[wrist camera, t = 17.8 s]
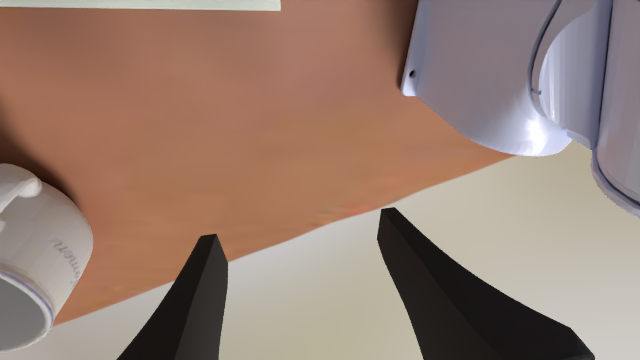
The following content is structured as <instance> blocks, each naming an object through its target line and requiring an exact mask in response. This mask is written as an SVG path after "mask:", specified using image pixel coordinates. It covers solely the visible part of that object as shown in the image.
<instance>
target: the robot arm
mask: <svg viewBox="0 0 640 360" xmlns="http://www.w3.org/2000/svg"><path fill="white" fill-rule="evenodd" d="M413 70H414V74H413V75H412V76H410V77H409V74H410V72H411V71H413ZM401 93H402V94H404V95H405V96H417V97H418V98H419V99H420V100H421V101H422V102H424V103H425V104H426V105H427V106H428V107H430V108H431V109H432V110H433V111H434V112H435V113H437V114H438V115H439V116H440V117H441V118H442V119H444V120H445V121H446V122H447V123H448V124H449V125H451V126H452V127H453V128H454V129H455V130H456V131H458V132H459V133H460V134H462V135H463V136H465V137H466V138H468V139H470V140H472V141H474V142H476V143H478V144H481V145H483V146H486V147H488V148H491V149H494V150H497V151H501V152H505V153H510V154H516V155H525V156H547V155H552V154H556V153H558V152H560V151H562V150H563V149H564V148H565V147H566V146H567V145H568V144H569V143H570V142H571V141H572V140H575V141H577V142H578V143H580V144H582V145H584V146H586V147H587V148H589V149H591V150H592V159H591V169H592V175H593V177H594V179H595V181H596V183H597V185H598V187H599V188H600V189H601V190H602V192H603V193H604V194H605V195H606V196H607V197H608V198H609V199H610V200H611V201H613V202H614V203H615V204H616V205H617V206H619V207H621V208H622V209H624V210H625V211H627V212H628V213H630V214H632V215H634V216H636V217H638V218H640V0H419V3H418V8H417V12H416V17H415V22H414V27H413V31H412V36H411V41H410V46H409V50H408V55H407V60H406V64H405V69H404V74H403V79H402V83H401ZM377 240H378V244H379V247H380V250H381V253H382V256H383V259H384V262H385V264H386V266H387V268H388V271H389V273H390V275H391V277H392V279H393V281H394V283H395V286H396V288H397V290H398V292H399V294H400V296H401V299H402V301H403V303H404V305H405V308H406V310H407V312H408V315H409V318H410V320H411V323H412V326H413V329H414V332H415V334H416V338H417V341H418V343H419V347H420V350H421V353H422V355H423V359H424V360H595V356H594V355H593V353H592V352H591V351H590V350H589V349H588V348H587V346H586V345H585V344H584V343H583V342H582V340H581V339H580V338H579V337H578V336H577V335H576V334H575V332H574V331H573V330H572V329H571V328H569V327H567V326H565V325H563V324H561V323H559V322H557V321H555V320H553V319H551V318H549V317H547V316H545V315H543V314H541V313H539V312H537V311H535V310H533V309H531V308H529V307H527V306H525V305H523V304H522V303H520V302H518V301H516V300H514V299H513V298H511V297H509V296H507V295H505V294H504V293H502V292H500V291H499V290H497V289H496V288H494V287H492V286H491V285H489V284H487V283H486V282H484V281H483V280H481V279H480V278H478V277H477V276H475V275H474V274H472V273H471V272H469V271H468V270H467V269H465V268H464V267H462V266H461V265H460V264H458V263H457V262H456V261H454V260H453V259H452V258H450V257H449V256H448V255H447V254H446V253H444V252H443V251H442V250H441V249H439V248H438V247H437V246H436V245H435V244H434V243H432V242H431V241H430V240H429V239H428V238H427V237H426V236H424V235H423V234H422V233H421V232H420V231H419V230H418V229H417V228H416V227H415V226H413V224H412V223H410V222H409V221H408V220H407V219H406V218H405V217H404V216H403V215H402V214H401V213H400V212H399V211H398V210H397V209H396V208H395V207H393V208H385V209H381V215H380V222H379V229H378V235H377ZM227 284H228V262H227V259H226V257H225V254H224V252H223V249H222V247H221V244H220V242H219V239H218V237H217V234H211V235H204V236H201V237H200V238H199V240H198V242H197V244H196V245H195V247H194V249H193V251H192V253H191V255H190V256H189V258H188V260H187V262H186V263H185V265H184V267H183V269H182V270H181V272H180V274H179V275H178V277H177V278H176V280H175V282H174V283H173V285H172V287H171V288H170V290H169V291H168V293H167V294H166V296H165V297H164V299H163V300H162V302H161V303H160V305H159V306H158V308H157V309H156V310H155V312H154V313H153V315H152V316H151V317H150V319H149V320H148V321H147V323H146V324H145V325H144V327H143V328H142V329H141V330H140V332H139V333H138V334H137V336H136V337H135V338H134V339H133V341H132V342H131V343H130V344H129V345H128V347H127V348H126V349H125V350H124V351H123V353H122V354H121V355H120V356H119V357H118V358H117V360H218V357H219V356H218V355H219V345H220V336H221V330H222V323H223V315H224V308H225V301H226V294H227Z"/></svg>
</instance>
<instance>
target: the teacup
mask: <svg viewBox="0 0 640 360" xmlns="http://www.w3.org/2000/svg"><path fill="white" fill-rule="evenodd" d="M92 249H93V234H92V230H91V227H90V225H89V223H88V221H87V219H86V218H85V216H84V215H83V213H82V212H81V211H80V210H79V209H78V208H77V207H76V205H75V204H74V203H73V202H72V201H71V200H70V199H69V198H68V197H67V196H66V195H65V194H63V193H62V192H60V191H59V190H57V189H56V188H54V187H52V186H51V185H49V184H47V183H45V182H43V181H40V179H39V178H37V177H36V176H35V175H34V174H33V173H31V172H30V171H28V170H26V169H24V168H21V167H18V166H16V165H12V164H5V163H4V164H0V353H3V352H10V351H15V350H18V349H22V348H25V347H27V346H30V345H33V344H34V343H36V342H38V341H39V340H41V339H42V338H43V337H44V336H46V335H47V334H48V333H49V331H50V329H51V327H52V325H53V322H54V318H55V317H56V315H57V314H58V312H59V311H60V309H61V308H62V306H63V304H64V303H65V301H66V300H67V298H68V297H69V295H70V293H71V292H72V290H73V288H74V287H75V285H76V283H77V282H78V280H79V278H80V277H81V275H82V273H83V271H84V269H85V267H86V265H87V263H88V261H89V259H90V256H91V253H92Z"/></svg>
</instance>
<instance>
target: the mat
mask: <svg viewBox="0 0 640 360" xmlns="http://www.w3.org/2000/svg"><path fill="white" fill-rule="evenodd" d="M0 7H60V8H129V9H198V10H267V11H281V5H280V0H0Z"/></svg>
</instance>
